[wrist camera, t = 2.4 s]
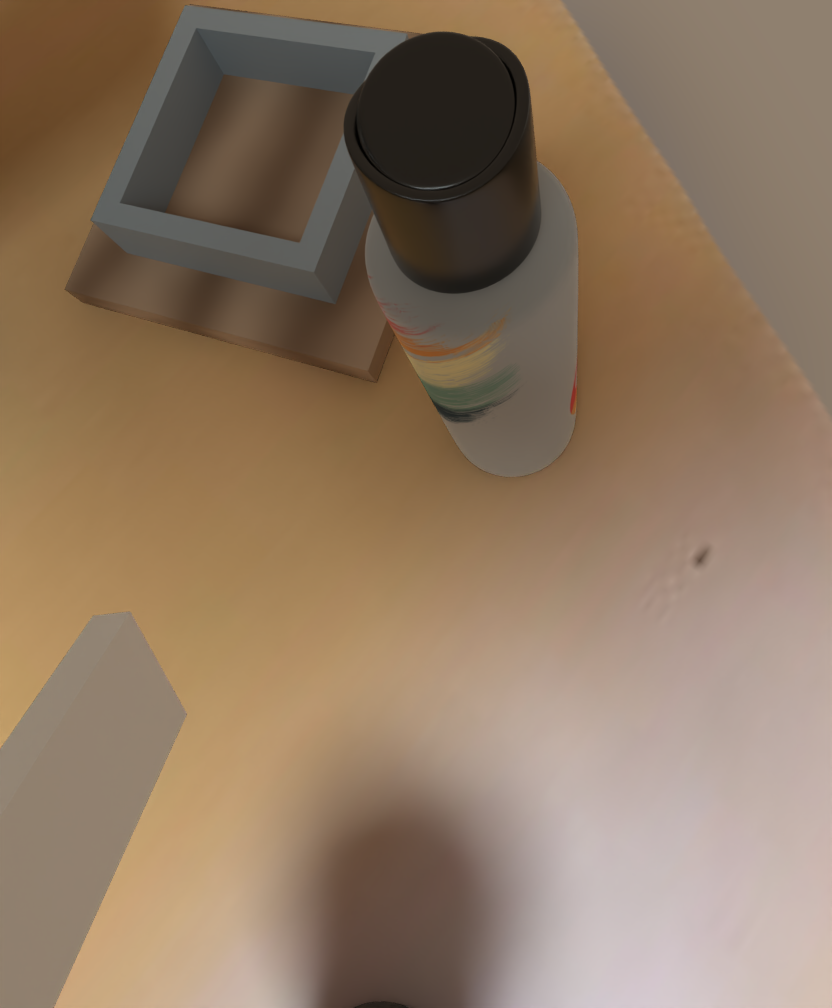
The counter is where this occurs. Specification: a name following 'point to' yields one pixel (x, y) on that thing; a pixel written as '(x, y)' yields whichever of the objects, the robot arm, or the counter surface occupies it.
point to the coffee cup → (381, 1005)
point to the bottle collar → (177, 122)
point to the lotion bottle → (471, 245)
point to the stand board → (254, 208)
